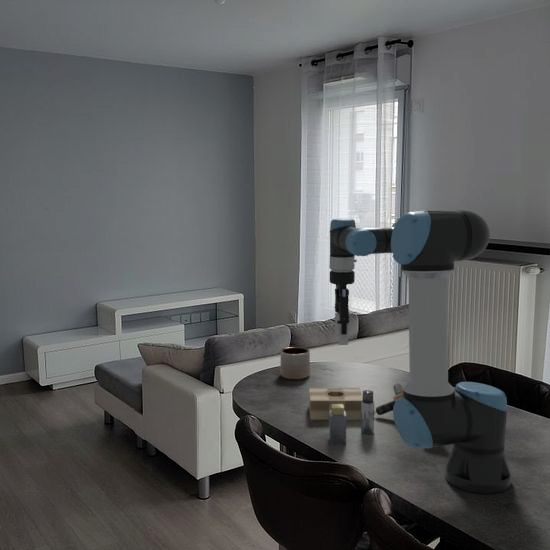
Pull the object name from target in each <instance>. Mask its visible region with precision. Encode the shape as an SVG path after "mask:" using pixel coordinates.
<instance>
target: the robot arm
mask: <svg viewBox="0 0 550 550" xmlns="http://www.w3.org/2000/svg"><path fill="white" fill-rule="evenodd" d="M329 225H330V227H329V268H328V269H330V271H329V283H330V284H333V285H335V288H334V312H335V313H334V334H337V335H338V346H348V345H349V323H350V312H349V311H350V308H349V307H350V306H349V302H350V301H349V299H350V298H349V296H350V290H349V287H347V285H352V284H354V283H355V278H356V277H355V276H356V275H355V274H356V273H355V267H356V265H355V263H357V259H356V258H355V257H367V256H369V255H378V254H392V258H393V259H394V261H395V262H396V263H397V264H400V265H401V272H402V273H403V274H404V275H405V276H406V277H407V280H408V345H409V347H408V348H409V349H408V350H409V351H408V352H409V353H408V354H409V356H408V357H409V358H408V359H409V364H408V365H409V366H408V367H409V380H408V382H407V383H406V384H405V385H404V386H402V390H403V398H399V399H398V400H396V401H395V404H394V407H393V420H394V425H395V427H396V430H397V432H398V434H399V436H400V438H401V440H402V441H403V442H404V443H405V444H406V445H407V446H408V447H410V448H412V449H415V450H416V449H432V448H437V447H441V446H442V447H443V446H449V445H453V446H452V449H451V451H450V454H449V456H448V459H447V462H446V464H445V471H444V473H445V474H444V477H445V479H446V481H448V482H449V483H450V485H452V486H454V487H456V488H458V489H461V490H463V491H467V492H471V493H475V494H484V495H485V494H488V495H489V494H497V493H502V492H504V491H507V490H508V489H509V488H510V487H511V484H512V472H511V469H510V465H509V463H508V459H507V456H506V452H505V451H506V449H505V448H506V445H505V444H506V429H507V428H506V427H507V412H508V405H507V404H508V403H507V399H508V398H507V396H506V394H505V392H504V391H503V390H501V389H499V388H497V387H494V386H492V385H489V384H486V383H480V382H476V381H475V382H474V381H460V382H458V383H456V384H455V387H454V386H452V384H451V383H449V366H448V365H449V362H448V361H449V356H448V355H449V353H448V352H449V347H448V346H449V345H448V344H449V343H448V335H449V334H448V327H449V326H448V325H449V324H448V278H449V277H450V275H451V274H452V273H453V272H454V271H455V262H460V261H461V262H463V261H467V260H472V259H475V258H476V257H478V256H479V255H481V254H482V253H483V252H484V251H485V250H486V248H487V247H488V245H489V243H490V236H491V235H490V228H489V226H488V224H487V222H486V220H485V219H484V218H483V217H481V216H480V215H479V214H477V213H476V212H473V211H471V210H463V209H459V210H458V209H457V210H419V211H418V210H417V211H409V212H407V213H403V214H401V216H400V217H399V218H398V219H397V221H396V223H395V225H394V226H386V227H384V226H383V227H357V226H356V221H355V219H353V218H334V219H331V221H330V223H329Z"/></svg>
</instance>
